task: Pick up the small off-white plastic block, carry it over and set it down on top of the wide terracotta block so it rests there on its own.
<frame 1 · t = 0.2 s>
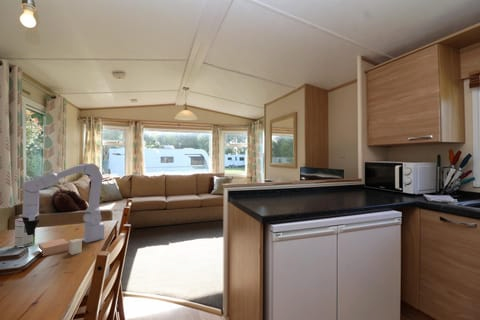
hand: (29, 233, 107), 10 cm above the table, tool pointing down, fingers open, 7 cm apart
base block: (53, 251, 112), on the table
white upright block: (75, 252, 110), on the table
syrup box: (24, 246, 118), on the table
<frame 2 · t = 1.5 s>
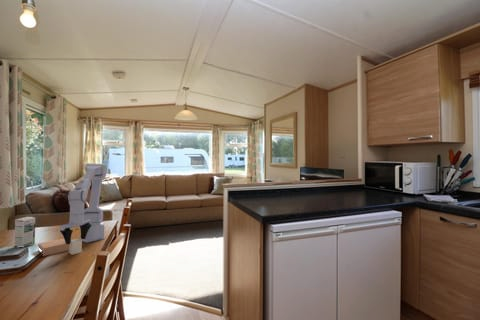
hand: (75, 241, 110), 5 cm above the table, tool pointing down, fingers open, 7 cm apart
nothing on the table moved.
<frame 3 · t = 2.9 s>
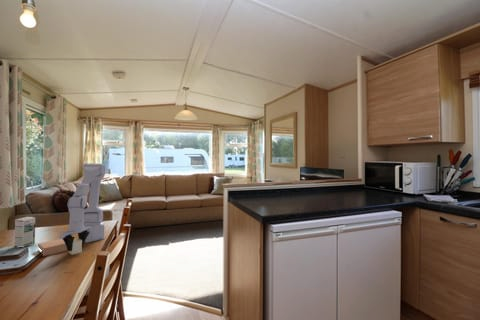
hand: (75, 248, 110), 2 cm above the table, tool pointing down, fingers closed on white upright block, 5 cm apart
white upright block: (75, 252, 110), on the table, touching gripper
everything else where it was.
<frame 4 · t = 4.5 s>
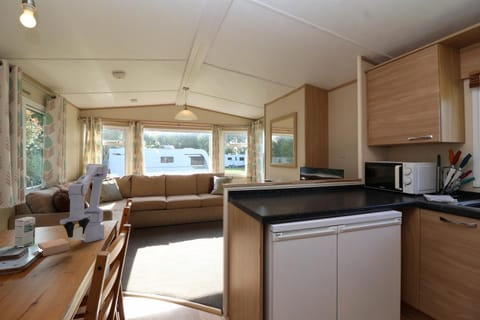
hand: (76, 235, 110), 8 cm above the table, tool pointing down, fingers closed on white upright block, 5 cm apart
white upright block: (75, 239, 110), point 6 cm above the table, touching gripper
everything else where it was.
when the fingers open (9 cm above the table, at t = 5.3 s): white upright block drops 3 cm, resting on base block.
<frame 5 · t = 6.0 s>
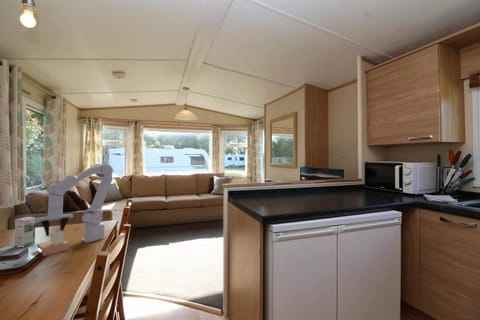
hand: (54, 234, 112), 8 cm above the table, tool pointing down, fingers open, 5 cm apart
base block: (53, 251, 112), on the table, touching white upright block
white upright block: (58, 243, 112), point 4 cm above the table, tilted 10°, touching base block, gripper
everything else where it was.
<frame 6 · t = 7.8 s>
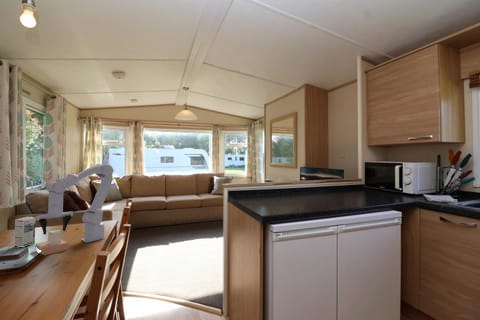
hand: (54, 232, 112), 9 cm above the table, tool pointing down, fingers open, 7 cm apart
white upright block: (54, 243, 112), point 4 cm above the table, touching base block
everything else where it was.
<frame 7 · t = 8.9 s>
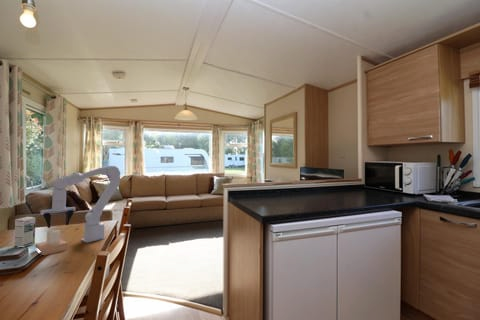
hand: (58, 226, 119), 10 cm above the table, tool pointing down, fingers open, 7 cm apart
nothing on the table moved.
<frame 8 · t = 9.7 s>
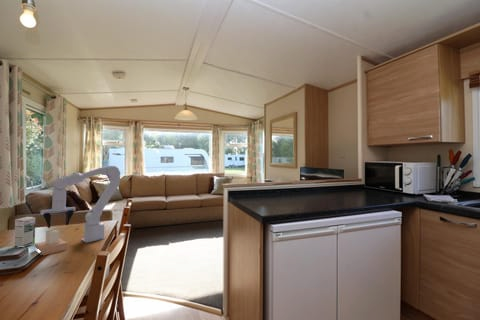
hand: (58, 226, 119), 10 cm above the table, tool pointing down, fingers open, 7 cm apart
base block: (50, 251, 112), on the table
white upright block: (52, 243, 112), point 4 cm above the table
everything else where it was.
at the end: white upright block 0.4 cm off-centre on the base block, point 4.0 cm above the base block's base; white upright block touching base block; white upright block tilted 0° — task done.
